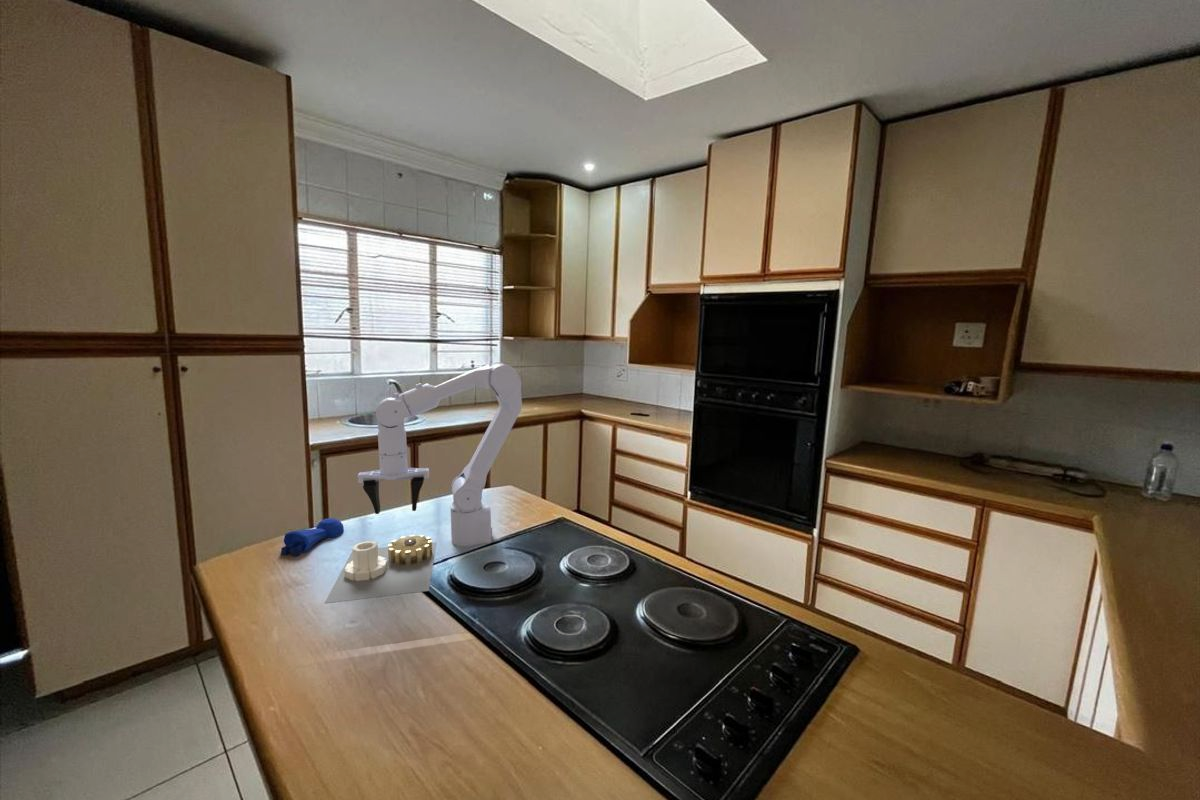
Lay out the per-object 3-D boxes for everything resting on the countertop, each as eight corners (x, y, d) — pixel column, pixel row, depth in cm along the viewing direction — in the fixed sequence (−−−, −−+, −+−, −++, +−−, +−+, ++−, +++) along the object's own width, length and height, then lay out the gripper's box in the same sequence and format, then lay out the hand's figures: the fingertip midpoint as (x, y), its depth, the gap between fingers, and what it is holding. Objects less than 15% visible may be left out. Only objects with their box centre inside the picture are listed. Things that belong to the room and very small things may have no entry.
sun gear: (433, 545, 112) (433, 530, 112) (430, 563, 103) (430, 547, 103) (392, 549, 110) (391, 534, 109) (385, 567, 101) (384, 551, 101)
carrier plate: (436, 545, 114) (436, 542, 114) (428, 594, 93) (428, 590, 93) (352, 553, 109) (352, 550, 109) (324, 607, 88) (324, 603, 88)
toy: (302, 564, 106) (351, 533, 120) (299, 537, 105) (349, 510, 119) (276, 560, 107) (328, 531, 122) (273, 534, 106) (325, 507, 120)
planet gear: (389, 560, 104) (388, 536, 104) (382, 578, 97) (381, 552, 96) (351, 564, 102) (349, 539, 102) (341, 582, 95) (339, 556, 94)
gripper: (353, 458, 101) (357, 520, 103) (426, 454, 105) (429, 514, 107) (360, 450, 108) (363, 508, 110) (428, 447, 112) (431, 503, 114)
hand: (396, 510), depth 109 cm, fingers open, 7 cm apart
